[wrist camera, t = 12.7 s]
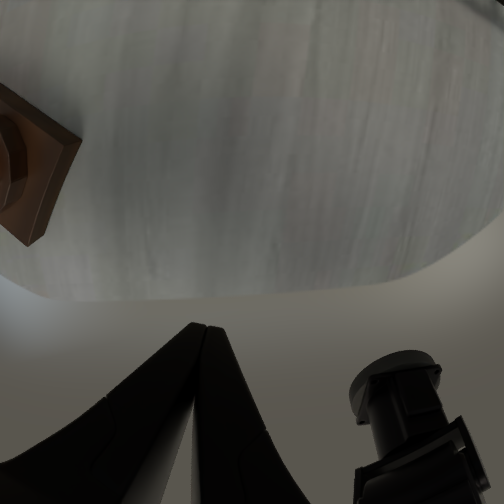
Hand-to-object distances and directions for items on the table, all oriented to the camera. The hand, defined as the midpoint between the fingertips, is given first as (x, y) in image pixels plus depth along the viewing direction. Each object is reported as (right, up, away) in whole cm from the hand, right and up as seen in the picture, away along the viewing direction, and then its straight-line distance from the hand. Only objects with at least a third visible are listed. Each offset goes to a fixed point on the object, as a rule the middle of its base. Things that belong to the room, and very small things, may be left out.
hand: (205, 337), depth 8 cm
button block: (-16, +9, +10) cm, 21 cm away
